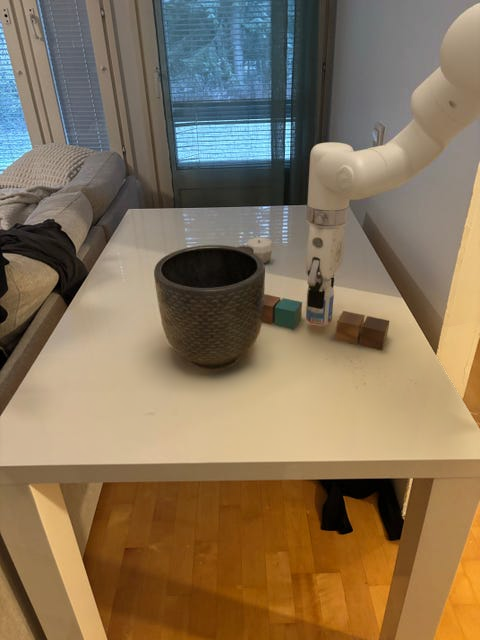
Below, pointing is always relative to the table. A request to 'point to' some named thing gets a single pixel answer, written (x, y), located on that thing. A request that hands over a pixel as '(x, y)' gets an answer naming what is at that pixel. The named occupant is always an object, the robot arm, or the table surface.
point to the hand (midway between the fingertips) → (320, 299)
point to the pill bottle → (325, 314)
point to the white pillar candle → (261, 247)
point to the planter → (211, 302)
